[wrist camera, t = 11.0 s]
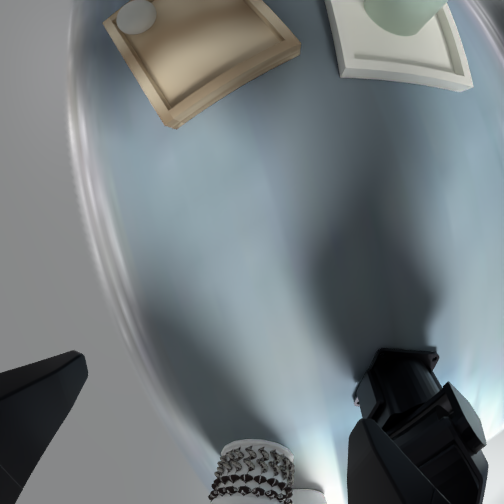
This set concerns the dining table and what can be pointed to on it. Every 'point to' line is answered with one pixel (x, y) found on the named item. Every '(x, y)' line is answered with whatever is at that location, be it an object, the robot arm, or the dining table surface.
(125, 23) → the pebble
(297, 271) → the dining table surface
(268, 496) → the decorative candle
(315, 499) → the bottle
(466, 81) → the white tray
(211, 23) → the wooden tray
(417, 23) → the sage green tall cylinder
